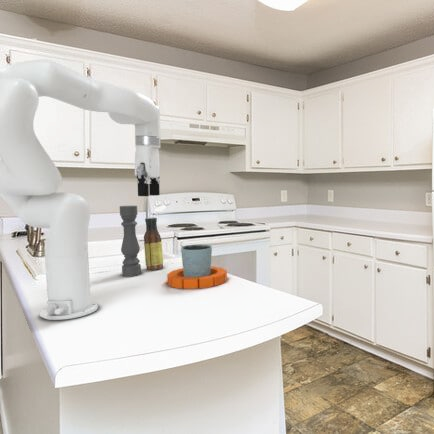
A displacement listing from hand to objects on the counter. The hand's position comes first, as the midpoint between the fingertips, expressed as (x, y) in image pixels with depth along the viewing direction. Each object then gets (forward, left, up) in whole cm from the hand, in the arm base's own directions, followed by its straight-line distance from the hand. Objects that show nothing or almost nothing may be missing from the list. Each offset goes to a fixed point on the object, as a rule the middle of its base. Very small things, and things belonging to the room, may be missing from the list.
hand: (149, 195), depth 133 cm
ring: (+2, -14, -29) cm, 33 cm away
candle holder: (+13, +12, -30) cm, 34 cm away
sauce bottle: (+22, +7, -30) cm, 37 cm away
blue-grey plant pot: (+2, -14, -30) cm, 33 cm away
